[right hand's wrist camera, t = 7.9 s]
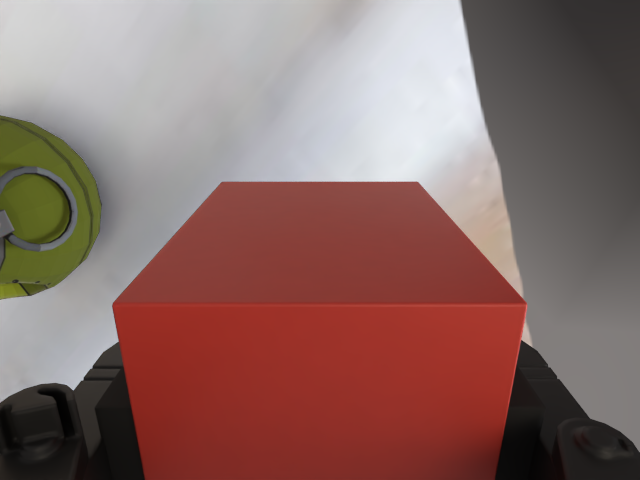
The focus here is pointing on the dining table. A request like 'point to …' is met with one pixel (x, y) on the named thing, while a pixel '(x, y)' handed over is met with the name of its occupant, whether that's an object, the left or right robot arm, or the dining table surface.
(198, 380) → the block
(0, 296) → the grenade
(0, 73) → the dining table surface
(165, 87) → the dining table surface
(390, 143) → the dining table surface
